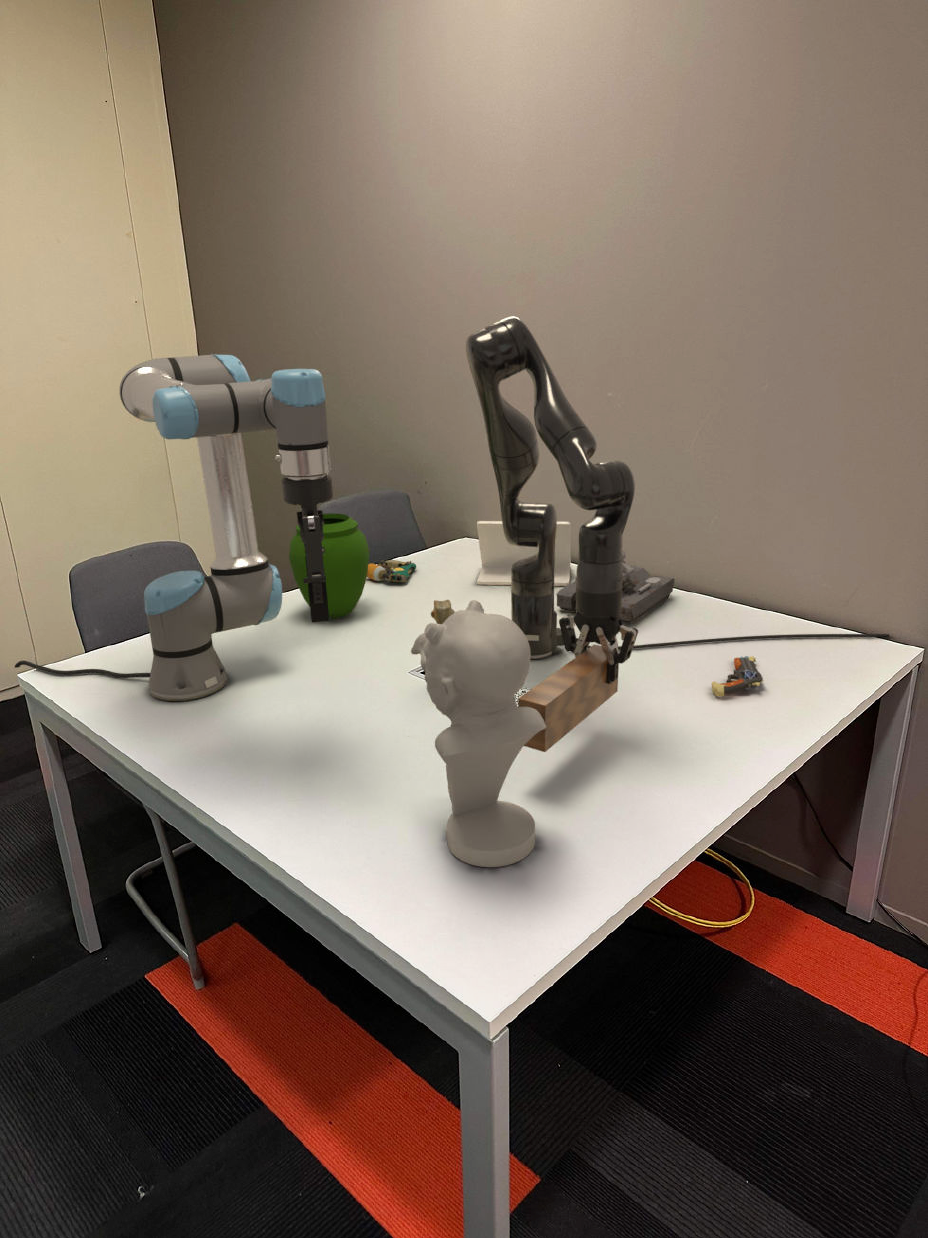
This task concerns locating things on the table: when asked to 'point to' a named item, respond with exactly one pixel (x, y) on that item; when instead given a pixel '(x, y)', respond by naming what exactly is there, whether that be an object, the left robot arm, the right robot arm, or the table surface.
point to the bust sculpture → (481, 729)
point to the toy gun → (739, 677)
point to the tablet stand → (517, 554)
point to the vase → (336, 563)
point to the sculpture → (441, 611)
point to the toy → (628, 592)
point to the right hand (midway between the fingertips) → (596, 678)
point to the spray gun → (390, 570)
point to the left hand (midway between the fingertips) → (318, 606)
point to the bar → (569, 696)
